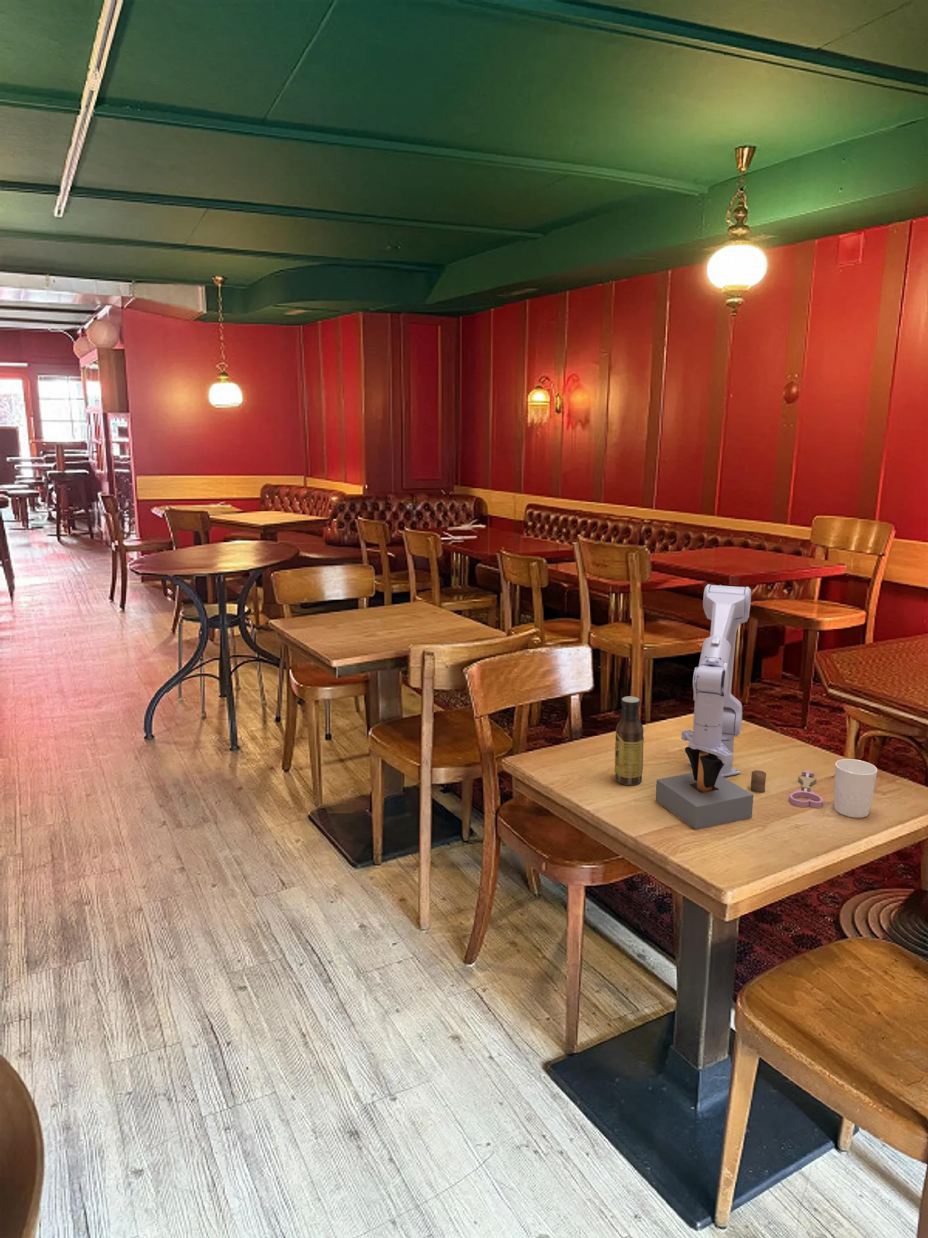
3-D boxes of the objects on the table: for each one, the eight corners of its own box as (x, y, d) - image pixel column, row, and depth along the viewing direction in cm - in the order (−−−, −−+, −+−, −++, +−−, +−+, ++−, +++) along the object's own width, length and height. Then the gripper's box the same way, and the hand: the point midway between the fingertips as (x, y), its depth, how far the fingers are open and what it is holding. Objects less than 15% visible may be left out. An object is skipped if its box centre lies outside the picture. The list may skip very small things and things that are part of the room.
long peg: (693, 791, 172) (696, 752, 170) (705, 790, 173) (708, 750, 171) (701, 797, 170) (704, 757, 168) (714, 795, 170) (717, 755, 168)
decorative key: (826, 769, 188) (822, 805, 170) (825, 774, 188) (822, 810, 171) (794, 764, 191) (788, 799, 173) (794, 769, 191) (787, 804, 174)
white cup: (852, 822, 166) (857, 777, 163) (822, 806, 173) (826, 762, 170) (880, 815, 169) (886, 770, 166) (850, 799, 176) (855, 756, 173)
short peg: (747, 788, 182) (748, 771, 181) (758, 786, 183) (759, 769, 182) (756, 793, 179) (758, 777, 178) (767, 791, 180) (769, 774, 179)
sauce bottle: (618, 773, 190) (621, 692, 186) (645, 778, 187) (648, 696, 183) (610, 783, 185) (613, 700, 180) (637, 789, 182) (641, 704, 177)
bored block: (655, 800, 176) (656, 779, 175) (709, 790, 181) (710, 769, 180) (695, 829, 163) (696, 806, 162) (751, 817, 168) (753, 795, 167)
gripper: (670, 713, 173) (667, 772, 176) (714, 737, 160) (710, 800, 163) (698, 709, 175) (694, 767, 178) (743, 731, 162) (739, 794, 165)
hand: (704, 783), depth 171 cm, fingers closed on long peg, 3 cm apart
